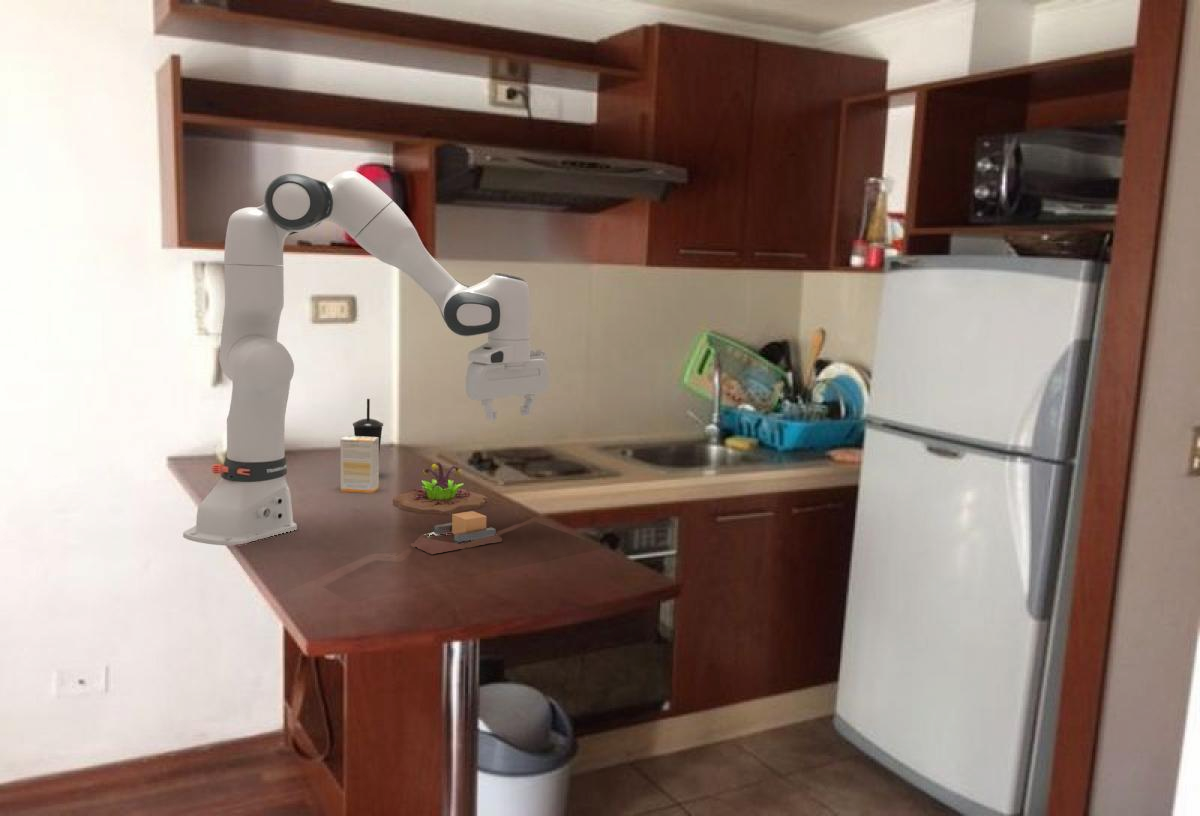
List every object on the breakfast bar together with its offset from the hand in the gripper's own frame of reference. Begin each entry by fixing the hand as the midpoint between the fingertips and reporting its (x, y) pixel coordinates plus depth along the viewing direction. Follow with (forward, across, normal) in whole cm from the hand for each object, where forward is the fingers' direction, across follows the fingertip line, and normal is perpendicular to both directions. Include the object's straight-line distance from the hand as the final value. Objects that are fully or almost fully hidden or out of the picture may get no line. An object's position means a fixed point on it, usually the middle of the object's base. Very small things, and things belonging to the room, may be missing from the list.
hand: (508, 417), depth 211 cm
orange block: (+23, +12, +2) cm, 26 cm away
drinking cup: (+24, -3, -59) cm, 64 cm away
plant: (+24, +1, -23) cm, 33 cm away
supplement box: (+24, +8, -46) cm, 53 cm away
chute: (+24, +21, +2) cm, 32 cm away
